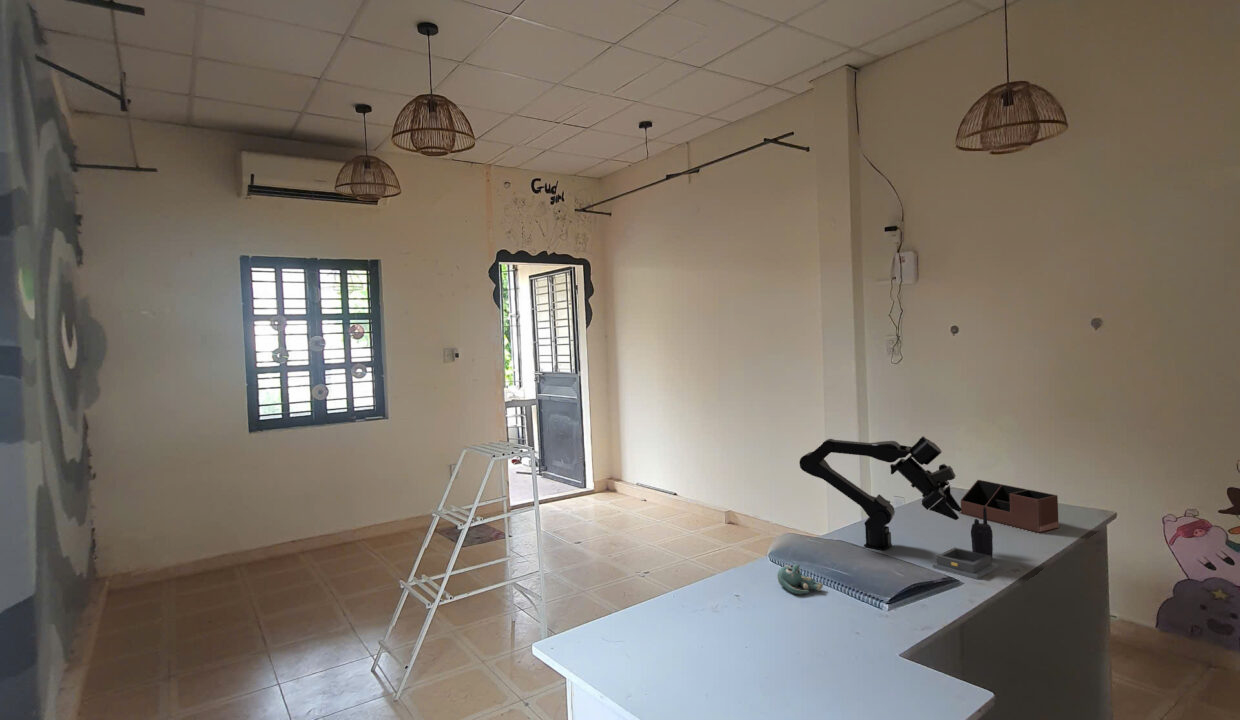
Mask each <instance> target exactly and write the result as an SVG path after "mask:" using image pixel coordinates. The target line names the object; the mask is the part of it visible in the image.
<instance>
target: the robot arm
mask: <svg viewBox="0 0 1240 720" xmlns="http://www.w3.org/2000/svg"><path fill="white" fill-rule="evenodd" d="M831 453H834V454H835V453H836V454H843V455H853V456H862V457H863V456H865V457H870V458H872V459H875V460H878V461H882V462H886V463H891V464H890V465H889V467H890V475H894V474H895V473H896V472H899V473H900V475H901V476H902V477H904V478H905V479H906V480H907V481H908V482H909V483H910V484H911V485H910V486H911V488H913V489H917V491H919V492H920V493H921V494H922V495H921V496H922V497H923V498H922V499H921V506H923V507H924V508H925V509H926V511H928V510H929V511H931V512H935V513H937V514H939V515H942V516H945V517H948V518H949V519H950V518H951V519H952V520H954V521H958V519H960V517H959V516H958V514H957V513H956V512H958V513H960V512H961V510H962V509H961V505H959V503H958V502H957V500H956V499H955V497H954V496H953V494H952V493H951V484H950V482H949V481H952V480H954V479H956V476H957V475H956V474H955V472H954V469H953V468H952V466H951V465H946V464H945V463H943V464H940V465H939V466H938V469H937V470H936V471H934V472H932V471H931V470H929V469H925V468H923V467H922V465H926V466H928V465H929V464H930V463H932V462H933V461H934V460H935V459H936V458H937V457H938V456H940V454H942V450H941V449H940V447H939V446H938V445H937V444H936V443H935V442H933V441H931V440H930V439H928V438H926V437H925V436H921V437H920V438H919V440H918V441H917V442H916V443H915V444H913V445H912V446H907V445H901V444H900V443H899V442H897V441H895V440H887V441H886V440H884V441H876V442H864V441H863V442H862V441H851V440H841V439H840V440H839V439H834V438H828V439H826V440H824V441H823V442H822V444H821V445H820V446H818V447H817V448H816V449H815V450H813V451H809V452H808V453H806V454H804V455H802V456H801V457H800V459H799V467H800V469H801V470H802V471H803V472H804V473H807V474H809V475H810V476H813V477H815V478H818V479H822V480H824V482H826V483H827V484H829V485H831V486H832V487H833V488H835V489H836V490H837V491H839V492H840V493H842V494H843V495H845V496H846V497H847V498H849V499H850V500H851V501H852V502H855V503H856V504H857V505H858V506H860V507H861V509H863V511H864V512H865V514H866V515H867V516H868V517H867V519H866V520H865V521H864V527H865V529H864V530H865V544H863V547H864V546H865V548H870V549H876V550H880V551H885V550H887V549H889V548H890V547H892V546H893V543H892V532H891V531H890V526H887V525H889V524H890V522H891V521H892V520H893V518H894V516H895V513H896V511H895V508H894V506H893V504H891V501H890V500H888V499H885V498H884V497H883V495H881V494H877V496H873V495H870V494H869V493H867V492H865V491H864V490H863V489H862V488H860V487H859V486H857V485H856V484H854V483H853V482H851V481H850V480H848V478H845V477H844V476H843V475H842V474H840V473H839V472H837V471H836V470H834V468H832V467H831V466H830V464H829V463H828V462H827V460H826V457H828V455H829V454H831ZM909 454H910V455H909ZM906 457H907V458H906ZM904 458H906V459H904ZM896 461H897V462H896ZM895 462H896V463H895ZM893 463H895V464H893ZM955 511H956V512H955Z"/></svg>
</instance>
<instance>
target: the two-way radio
mask: <svg viewBox="0 0 1240 720" xmlns="http://www.w3.org/2000/svg"><path fill="white" fill-rule="evenodd" d="M982 520H983V521H982V522H981V523H980V521H979V518H976V519H974V522H973V523H972V525H971V529H970V537H971V550H972V552H977V553H981V554H985V555H990V556H991V560H992V559H993V550H994V546H993V543H994V542H993V538H994V537H993V529H992V527H991V524H989V523H988V521H987V512H986V507H983V519H982Z"/></svg>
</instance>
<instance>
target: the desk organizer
mask: <svg viewBox="0 0 1240 720" xmlns="http://www.w3.org/2000/svg"><path fill="white" fill-rule="evenodd" d="M1058 501H1059V500H1058V494H1053V493H1047V492H1042V491H1038V490H1033V489H1027V488H1022V487H1016V486H1011V485H1006V484H1002V483H997V482H991V481H986V480H982V479H977V480H976V481H975V482H974V483H973V484H972V485H971V487H970V488H969V489H968V491H967V492H966V493H965V494H964V495H963V497H962V498H961V499H960V508H961V509H962V510H961V511H960V512H959V514H960V515H962V516H963V515H965V516H967V517H970V518H971V517H972V518H976V519H978V520H979V519H980V520H983V507H986V512H987V522H991V523H996V524H998V523H999V524H1000V525H1002V524H1003V526H1006V525H1007V527H1010V526H1012V527H1011V528H1014V527H1015V528H1014V529H1018V528H1019V530H1022V529H1023V530H1022V531H1025V530H1027V531H1026V532H1029V531H1031V532H1030V533H1033V532H1035V533H1034V534H1037V533H1039V534H1038V535H1042V533H1043V534H1047V533H1050V531H1051V532H1054V530H1055V531H1058V530H1061V529H1062V528H1061V527H1060V526H1059V524H1060V523H1059V502H1058ZM1057 529H1058V530H1057ZM1046 532H1047V533H1046Z"/></svg>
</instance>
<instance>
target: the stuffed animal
mask: <svg viewBox="0 0 1240 720" xmlns="http://www.w3.org/2000/svg"><path fill="white" fill-rule="evenodd" d="M776 576H777V581H778V583H779V585H780V586H781V587H783V588H785V589H786V590H787V591H788V592H790V594H794V595H805V594H806V595H807V594H809V592H810V591H809V589H813V590H816V591H819V592H820V591H822V589H823V587H824V584H823V583H822V582H819V581H815V580H814V579H813V577H811V576H807V575H804V574H802V573H801V569H800V563H796V564H794V565H788V564H785V565H784V566H782V567H780V569H778V571H777V575H776ZM798 586H800V587H802V588H803V589H802V588H799V587H798Z"/></svg>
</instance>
